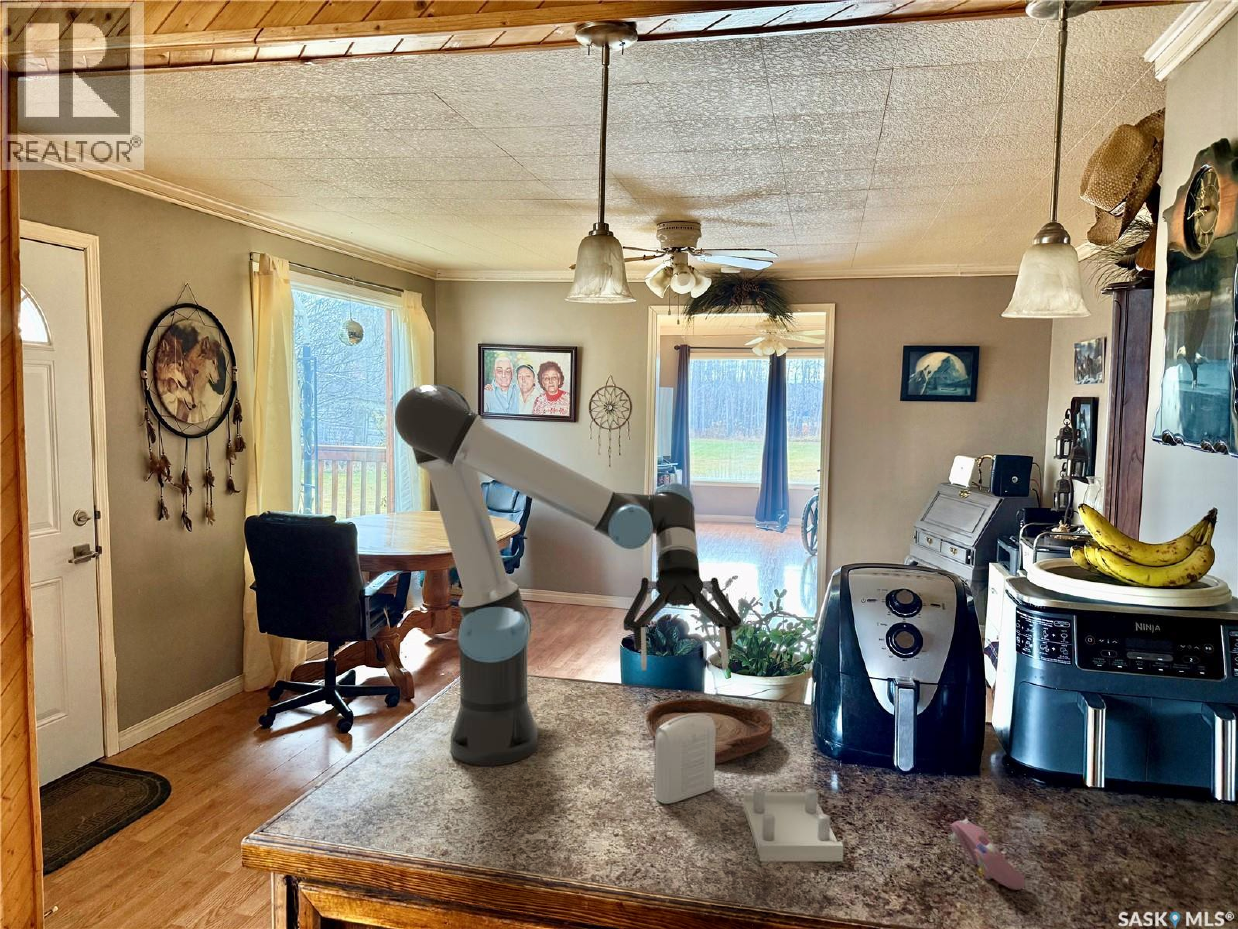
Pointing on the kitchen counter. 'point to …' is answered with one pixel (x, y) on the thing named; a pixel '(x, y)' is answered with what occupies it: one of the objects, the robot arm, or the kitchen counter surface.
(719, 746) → the basket
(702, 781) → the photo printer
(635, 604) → the robot arm
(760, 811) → the white pegged stand
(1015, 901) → the kitchen counter surface
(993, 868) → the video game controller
